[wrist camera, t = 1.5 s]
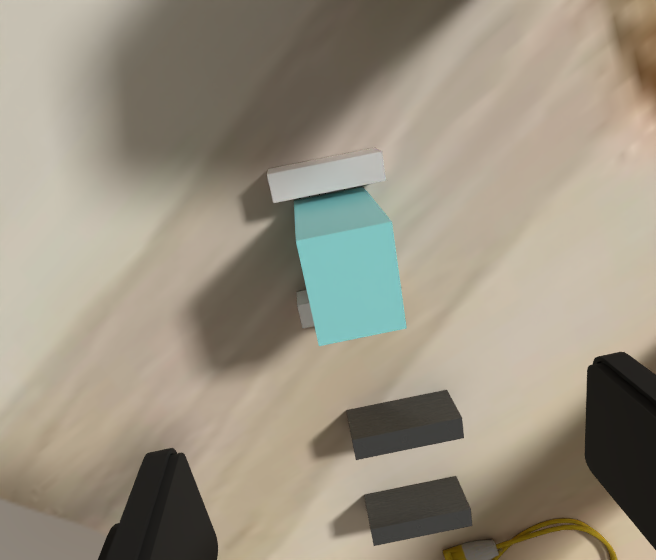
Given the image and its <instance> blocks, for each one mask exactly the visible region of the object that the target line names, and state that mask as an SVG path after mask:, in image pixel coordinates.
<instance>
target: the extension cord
mask: <svg viewBox="0 0 656 560" xmlns="http://www.w3.org/2000/svg"><path fill="white" fill-rule="evenodd" d="M557 523H573V524H577V525H561V526H556V527H551V528H546V529H543V530H539V531H536V532H533V531H535V530H537V529H539V528H542V527H545V526H548V525H552V524H557ZM579 525H580V526H579ZM560 530H580V531H584V532H587V533H589V534H591V535H592V536H594V537H596V538H597V539H599V540H600V541H601V542H602V543H604V545H605V546H606V547H607V549H608V551H609V554H610V560H617V557H616V554H615V552H614V550H613V548H612V546H611V545H610V544H609V543H608V542H607V541H606V540H605V538H604V537H603V536H602V535H600V534H599V533H598V532H597V531H596V530H594V529H593V528H591V527H590V526H588V525H587V524H585V523H583V522H581V521H579V520H575V519H569V518H560V519H553V520H548V521H545V522H541V523H539V524H536V525H534V526H532V527H530V528H528V529H526V530H524V531H522V532H521V533H519V534H518V535H516V536H515V537H514V538H512V539H511V540H508V541H505V542H502V543H499V544H496V545H495V542H494V540H493V539H491V540H481V541H474V542H468V543H464V544H461V545H458V546H455V547H452V548H449V549H446V550H443V554H444V557H445V560H490V559H492V558H493V559H492V560H498V559H499V557H500V556H501V555H502V554H503V553H504V552H505V551H506V550H507V549H508V548H509V547H510V546H511V545H512V544H515V543H518V542H521V541H524V540H527V539H530V538H533V537H537V536H540V535H543V534H547V533H550V532H555V531H560ZM531 532H533V533H531ZM500 548H501V549H500ZM497 549H500V550H499V551H498V550H497Z"/></svg>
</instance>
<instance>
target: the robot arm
mask: <svg viewBox="0 0 656 560" xmlns="http://www.w3.org/2000/svg"><path fill="white" fill-rule="evenodd" d="M585 459H586V463H587V465H588V467H589V469H590V471H591V472H592V473H593V475H594V476H595V477H596V478H597V479H598V481H599V482H600V483H601V484H602V486H603V487H604V488H605V489H606V490H607V492H608V493H609V494H610V495H611V496H612V498H613V499H614V500H615V501H616V503H617V504H618V505H619V506H620V507H621V509H622V510H623V511H624V512H625V513H626V515H627V516H628V517H629V518H630V519H631V521H632V522H633V523H634V524H635V526H636V527H637V528H638V529H639V530H640V532H641V533H642V534H643V535H644V536H645V538H646V539H647V540H648V541H649V543H650V544H651V545H652V546H653V547H654V549H655V550H656V375H655V374H654V373H652V372H651V371H650V370H648V369H647V368H646V367H644V366H643V365H642V364H640V363H639V362H638V361H636V360H635V359H634V358H632V357H631V356H630V355H628V354H626V353H625V352H617V353H613V354H608V355H603V356H599V357H596V358H595V359H594V361H593V365H590V366H589V367H588V370H587V398H586V430H585ZM217 556H218V543H217V537H216V534H215V531H214V529H213V526H212V524H211V521H210V518H209V516H208V513H207V511H206V508H205V505H204V503H203V500H202V498H201V495H200V493H199V490H198V487H197V485H196V482H195V480H194V477H193V474H192V472H191V469H190V467H189V464H188V461H187V459H186V456H185V454H184V453H178V454H177V452H176V450H175V449H174V448H169V449H164V450H160V451H155V452H150V453H147V454H146V455H145V457H144V459H143V462H142V464H141V467H140V470H139V472H138V475H137V478H136V480H135V483H134V486H133V488H132V491H131V493H130V496H129V499H128V501H127V504H126V507H125V509H124V512H123V515H122V517H121V520H120V523H117V524H115V525H114V526H113V527H112V528H111V529H110V531H109V533H108V535H107V538H106V540H105V543H104V545H103V548H102V551H101V553H100V556H99V558H98V560H217Z"/></svg>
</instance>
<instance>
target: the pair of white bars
mask: <svg viewBox="0 0 656 560" xmlns="http://www.w3.org/2000/svg"><path fill="white" fill-rule="evenodd" d="M267 177H268V182H269V186H270V190H271V195H272V199H273V203H277V202H282V201H287V200H292V199H297V198H301V197H306V196H311V195H316V194H321V193H326V192H331V191H336V190H341V189H346V188H351V187H356V186H361V185H366V184H371V183H376V182H381V181H386V176H385V169H384V161H383V154H382V151H381V150H379V149H377V148H376V147H375V148H370V149H365V150H360V151H355V152H350V153H345V154H340V155H335V156H330V157H325V158H320V159H315V160H310V161H305V162H300V163H295V164H290V165H285V166H280V167H275V168H270V169H268V172H267ZM297 307H298V311H299V315H300V320H301V324H302V328H308V327H312V326H315V325H314V321H313V316H312V312H311V307H310V303H309V298H308V294H307V290H304V291H299V292H297Z"/></svg>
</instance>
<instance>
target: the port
mask: <svg viewBox="0 0 656 560" xmlns="http://www.w3.org/2000/svg"><path fill="white" fill-rule="evenodd" d="M347 416H348V421H349V427H350V432H351V438H352V443H353V448H354V452H355V457H356V460H358V459H363V458H368V457H373V456H378V455H383V454H388V453H393V452H398V451H402V450H407V449H412V448H417V447H422V446H427V445H432V444H437V443H442V442H447V441H451V440H456V439H461V438H464V434H463V423H462V417H461V415H460V413H459V411H458V410H457V408H456V406H455V404H454V402H453V400H452V398H451V397H450V395H449V393H448V391H447V390H444V391H439V392H434V393H429V394H424V395H419V396H415V397H410V398H405V399H400V400H395V401H390V402H385V403H380V404H375V405H370V406H365V407H360V408H356V409H351V410H347ZM364 497H365V503H366V508H367V513H368V518H369V524H370V529H371V534H372V539H373V543H374V546H376V545H381V544H386V543H390V542H395V541H400V540H405V539H410V538H415V537H420V536H425V535H430V534H434V533H439V532H444V531H449V530H454V529H459V528H464V527H469V526H472V518H471V509H470V506H469V504H468V502H467V500H466V497H465V495H464V493H463V490H462V488H461V486H460V484H459V481H458V479H457V477H456V476H454V477H450V478H445V479H440V480H435V481H430V482H425V483H420V484H415V485H410V486H406V487H401V488H396V489H391V490H386V491H381V492H376V493H371V494H366V495H364Z"/></svg>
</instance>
